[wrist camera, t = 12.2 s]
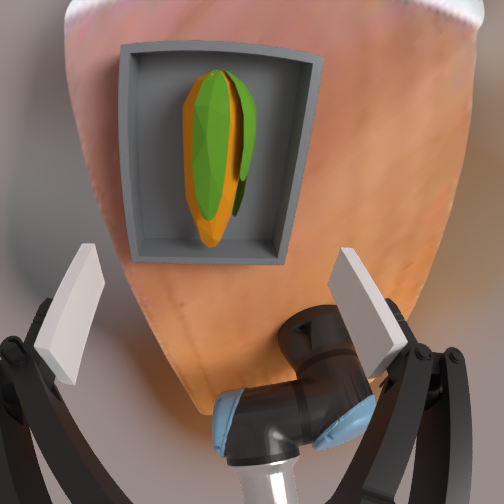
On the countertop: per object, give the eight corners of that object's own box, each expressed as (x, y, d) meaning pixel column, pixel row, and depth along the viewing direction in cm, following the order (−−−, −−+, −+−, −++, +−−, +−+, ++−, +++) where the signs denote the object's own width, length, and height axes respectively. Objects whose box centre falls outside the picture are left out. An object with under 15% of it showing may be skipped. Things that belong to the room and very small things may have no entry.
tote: (276, 242, 40) (283, 265, 36) (139, 239, 37) (132, 262, 33) (308, 57, 25) (324, 56, 21) (134, 47, 22) (120, 44, 18)
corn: (266, 72, 19) (246, 270, 31) (259, 72, 25) (244, 232, 37) (173, 69, 18) (178, 267, 30) (188, 70, 24) (187, 230, 36)
